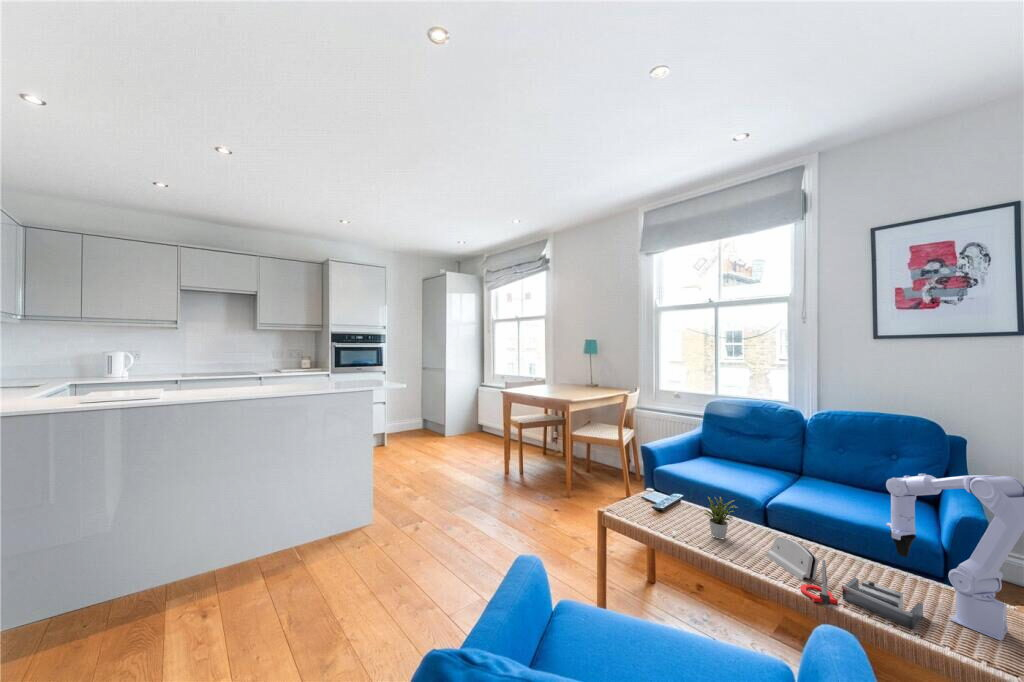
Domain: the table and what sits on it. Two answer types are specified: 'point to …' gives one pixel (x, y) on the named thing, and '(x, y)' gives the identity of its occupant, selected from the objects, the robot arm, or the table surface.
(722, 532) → the house plant
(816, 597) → the red handled scissors
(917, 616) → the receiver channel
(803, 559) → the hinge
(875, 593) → the block
